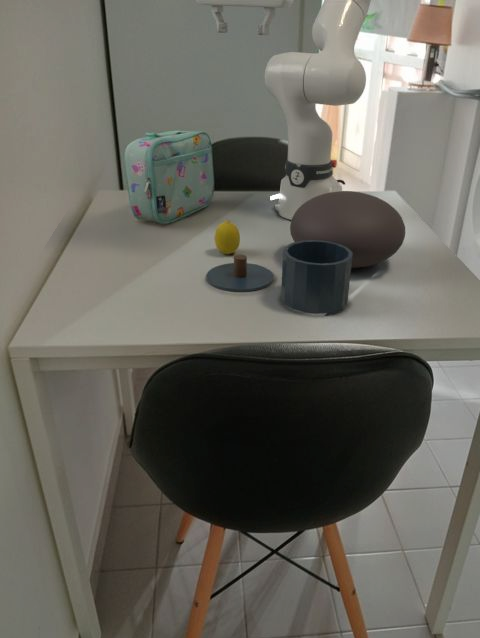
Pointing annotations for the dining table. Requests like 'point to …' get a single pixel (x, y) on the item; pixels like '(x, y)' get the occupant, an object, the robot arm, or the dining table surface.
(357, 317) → the dining table surface
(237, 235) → the lemon
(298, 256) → the tin
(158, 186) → the lunch box
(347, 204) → the flattened ellipsoid
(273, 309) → the dining table surface
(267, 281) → the lid
